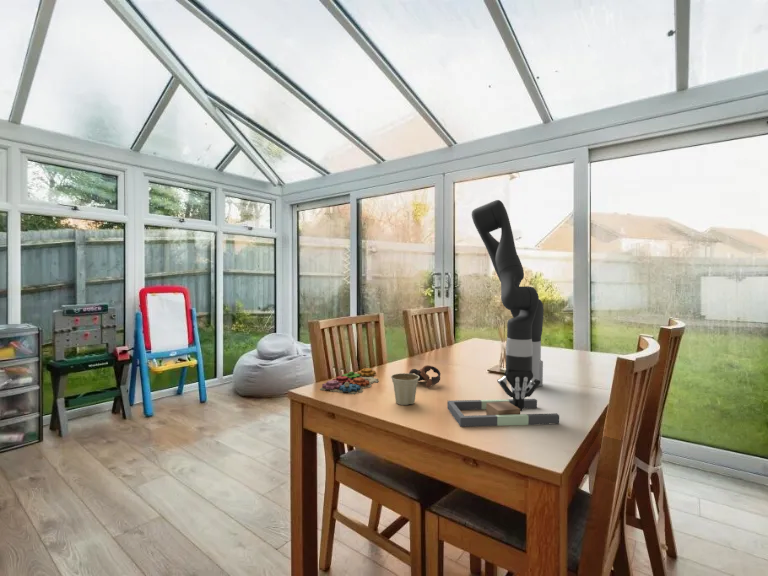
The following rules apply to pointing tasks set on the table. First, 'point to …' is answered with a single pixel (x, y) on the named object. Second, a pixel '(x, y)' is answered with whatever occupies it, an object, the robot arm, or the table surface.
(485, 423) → the box
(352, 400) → the table surface
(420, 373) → the brown ring toy
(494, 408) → the walnut block
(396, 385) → the flower pot
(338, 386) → the gear puzzle
